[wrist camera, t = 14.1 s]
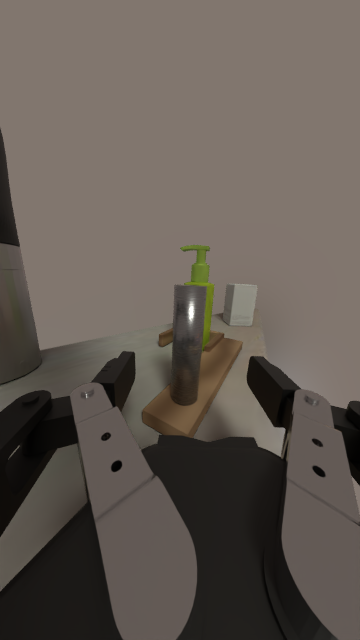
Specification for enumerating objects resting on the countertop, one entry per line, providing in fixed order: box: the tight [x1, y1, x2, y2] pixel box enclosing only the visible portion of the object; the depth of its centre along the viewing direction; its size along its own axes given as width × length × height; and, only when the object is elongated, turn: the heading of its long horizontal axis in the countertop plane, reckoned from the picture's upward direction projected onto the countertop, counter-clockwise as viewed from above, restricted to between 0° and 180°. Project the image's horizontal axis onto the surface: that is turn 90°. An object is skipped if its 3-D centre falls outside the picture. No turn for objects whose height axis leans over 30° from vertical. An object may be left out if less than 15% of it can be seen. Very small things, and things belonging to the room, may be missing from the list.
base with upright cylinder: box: [143, 285, 243, 438], centre depth 27 cm, size 15×25×14 cm, turn 150°
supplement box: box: [223, 284, 258, 326], centre depth 54 cm, size 7×7×13 cm
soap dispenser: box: [180, 245, 214, 350], centre depth 34 cm, size 6×7×20 cm
